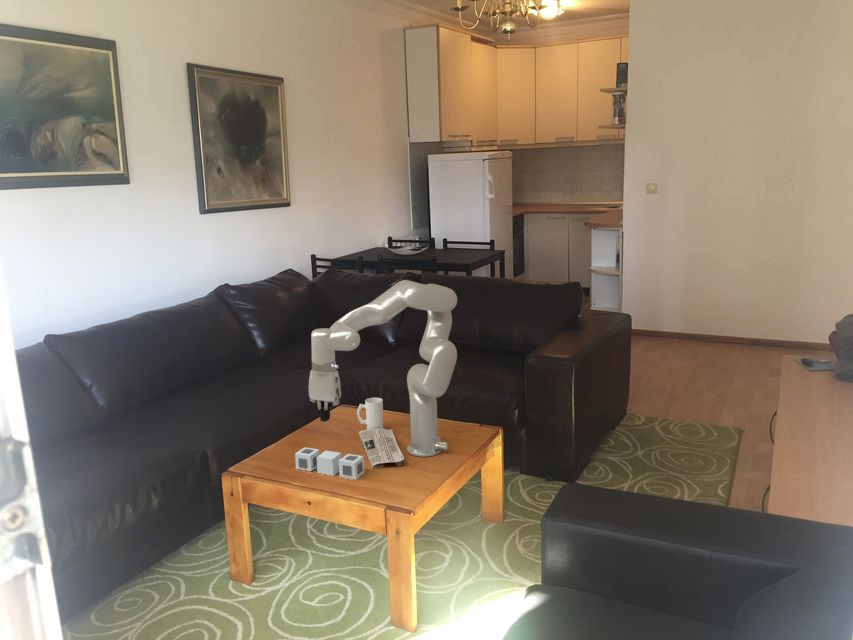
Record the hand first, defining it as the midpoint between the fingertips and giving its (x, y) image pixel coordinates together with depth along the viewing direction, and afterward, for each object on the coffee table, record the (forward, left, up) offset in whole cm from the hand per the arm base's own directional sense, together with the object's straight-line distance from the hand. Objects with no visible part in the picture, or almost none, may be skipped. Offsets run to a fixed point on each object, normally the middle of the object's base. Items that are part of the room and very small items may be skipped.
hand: (325, 420), depth 243 cm
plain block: (0, -1, -18) cm, 18 cm away
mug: (+5, -41, -18) cm, 45 cm away
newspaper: (-8, -24, -19) cm, 32 cm away
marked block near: (-9, -1, -18) cm, 20 cm away
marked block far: (+8, -1, -18) cm, 20 cm away
